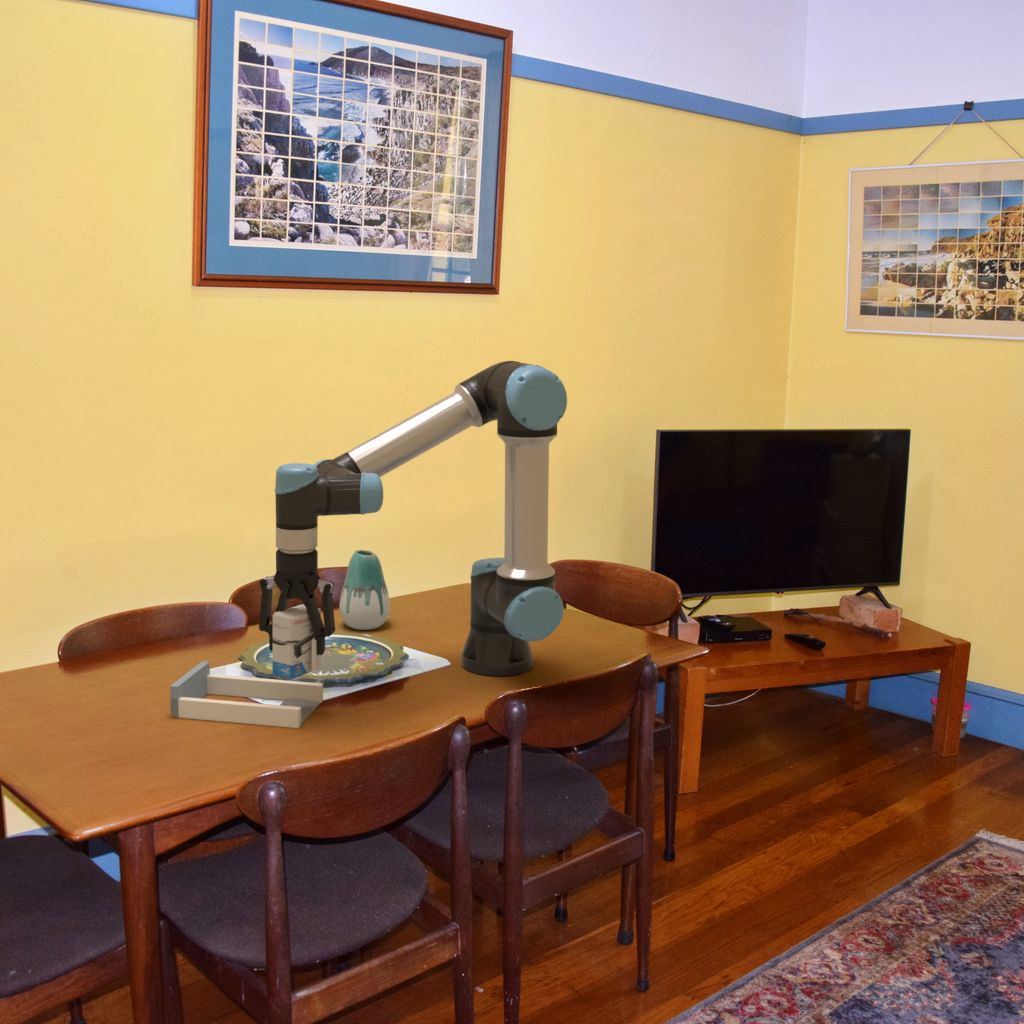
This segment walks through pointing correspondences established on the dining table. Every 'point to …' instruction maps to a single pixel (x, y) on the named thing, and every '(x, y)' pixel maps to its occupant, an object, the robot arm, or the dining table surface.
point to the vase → (364, 593)
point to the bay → (202, 682)
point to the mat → (302, 707)
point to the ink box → (292, 642)
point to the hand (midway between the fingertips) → (297, 669)
